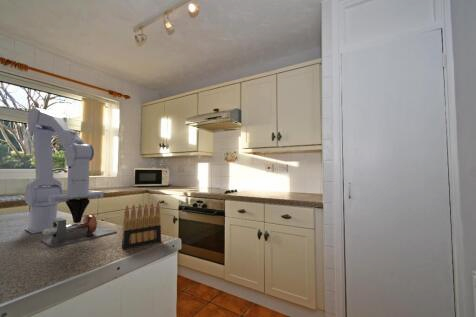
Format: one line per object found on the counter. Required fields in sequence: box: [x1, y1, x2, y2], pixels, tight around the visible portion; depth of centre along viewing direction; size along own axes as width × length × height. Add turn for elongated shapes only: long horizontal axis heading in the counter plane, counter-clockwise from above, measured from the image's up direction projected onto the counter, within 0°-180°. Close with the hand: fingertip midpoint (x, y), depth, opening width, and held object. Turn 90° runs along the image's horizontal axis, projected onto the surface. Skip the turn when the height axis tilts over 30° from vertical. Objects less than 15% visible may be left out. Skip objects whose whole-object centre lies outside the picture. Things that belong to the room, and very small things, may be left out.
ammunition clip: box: [121, 202, 162, 250], centre depth 66 cm, size 11×2×12 cm, turn 129°
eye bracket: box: [40, 217, 118, 249], centre depth 73 cm, size 10×18×7 cm, turn 145°
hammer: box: [41, 214, 98, 236], centre depth 71 cm, size 6×14×6 cm, turn 145°
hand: (77, 222), depth 72 cm, fingers closed
